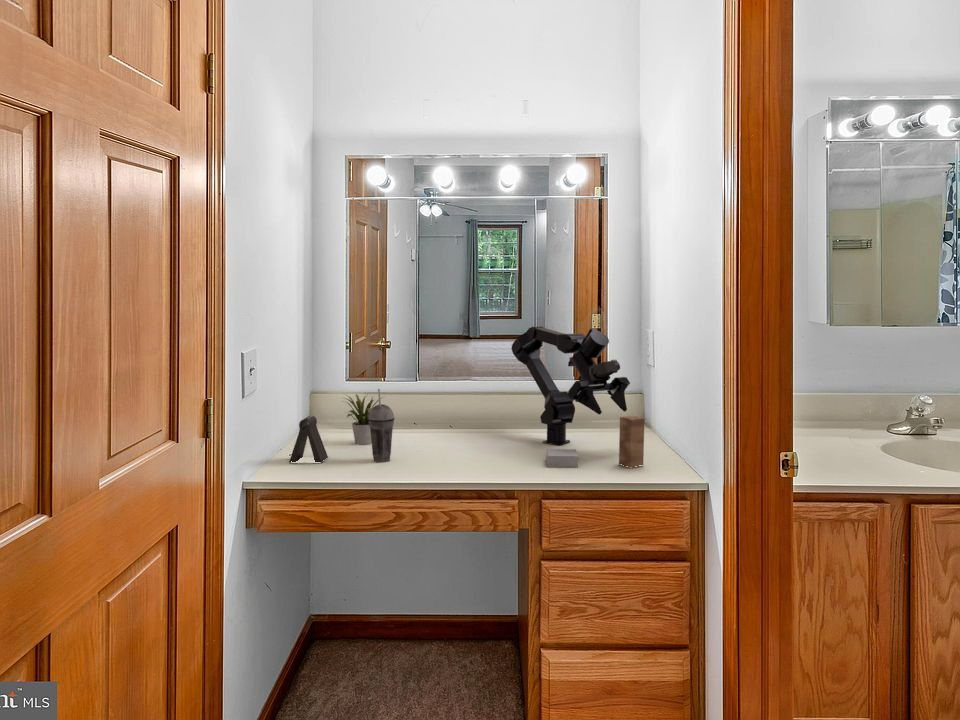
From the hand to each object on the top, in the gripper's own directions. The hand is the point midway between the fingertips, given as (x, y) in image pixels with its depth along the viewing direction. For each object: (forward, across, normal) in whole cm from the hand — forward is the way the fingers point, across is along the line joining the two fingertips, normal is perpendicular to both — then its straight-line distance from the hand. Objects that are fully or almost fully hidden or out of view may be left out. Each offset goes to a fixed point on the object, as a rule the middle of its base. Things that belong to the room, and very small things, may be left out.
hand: (613, 412), depth 186 cm
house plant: (-30, -52, +49) cm, 78 cm away
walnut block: (+15, 0, +4) cm, 15 cm away
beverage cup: (-13, -55, +32) cm, 65 cm away
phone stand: (-20, -72, +40) cm, 85 cm away
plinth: (+7, -15, +12) cm, 20 cm away
